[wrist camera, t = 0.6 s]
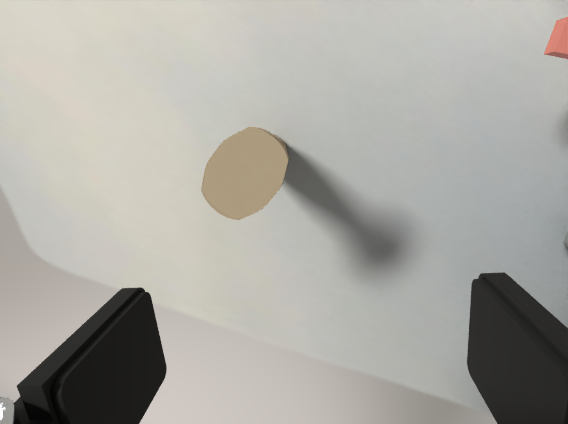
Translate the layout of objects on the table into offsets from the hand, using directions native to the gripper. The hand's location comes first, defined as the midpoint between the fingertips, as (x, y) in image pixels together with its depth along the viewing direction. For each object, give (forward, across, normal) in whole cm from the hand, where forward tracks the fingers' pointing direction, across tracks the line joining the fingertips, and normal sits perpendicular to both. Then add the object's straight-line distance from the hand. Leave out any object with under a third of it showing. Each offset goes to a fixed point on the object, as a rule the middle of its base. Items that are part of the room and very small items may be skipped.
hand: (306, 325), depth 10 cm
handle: (+29, +4, -2) cm, 30 cm away
